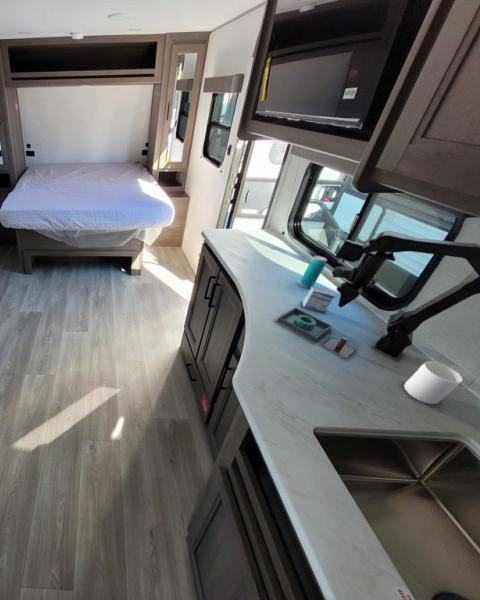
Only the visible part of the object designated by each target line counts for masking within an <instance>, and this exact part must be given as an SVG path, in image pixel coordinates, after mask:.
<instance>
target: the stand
mask: <svg viewBox="0 0 480 600" xmlns="http://www.w3.org/2000/svg"><path fill="white" fill-rule="evenodd" d="M348 341H349V338H348V337H346V336H343V337H342V336H341V339H340V340H337V339H335V338H333V337H331V338H330V339H329V340H327V341H326V342H325V343H323V346H324V347H325V348H327V349H329V350H331V351H333V352H335V353H336V354H338V355H340V356H342V357H344V358H345V359H347V358H348V357H349V356H351V355H352V354H353V353H354V352H355V351H356V349H354V348H352V347H350V346H348V345H346V344H347V343H348Z"/></svg>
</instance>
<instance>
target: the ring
mask: <svg viewBox="0 0 480 600" xmlns="http://www.w3.org/2000/svg"><path fill="white" fill-rule="evenodd" d="M293 324H294V325H296V326H297V327H299V328H301V329H303V330H305V331H307V332H310V331H313V329H314V328H315V326H316V325H317V324H316V321H315V320H314V319H312V318H311V317H309V316H306V315H297V316H296V318H295V320H294V322H293Z"/></svg>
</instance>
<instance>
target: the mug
mask: <svg viewBox="0 0 480 600" xmlns="http://www.w3.org/2000/svg"><path fill="white" fill-rule="evenodd" d="M462 382H464V381H463V377H462V376H461V374H459V373H458V372H457V371H456V370H455V369H453V368H451V367H450V366H447V365H445V364H443V363H440V362H437V361H425V362H424V363H422V364H421V366H419V367H418V369H417V370H416V371H415V372H414V373H413V374H412V376H410V377H409V378H408V380H406V381H405V383H404V384H403V388H404V390H405V391H406V393H407V394H408V395H409V396H411V397H412V398H413V399H415V400H417V401H419V402H421V403H424V404H429V405H435V404H438V403H439V402H441V401H442V400H443V399H444V398H445V397H446V396H448V395H449V394H450V393H451V392H452V391H453V390H454V389H456V388H457V387H458V386H459V385H460V384H461V383H462Z"/></svg>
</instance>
